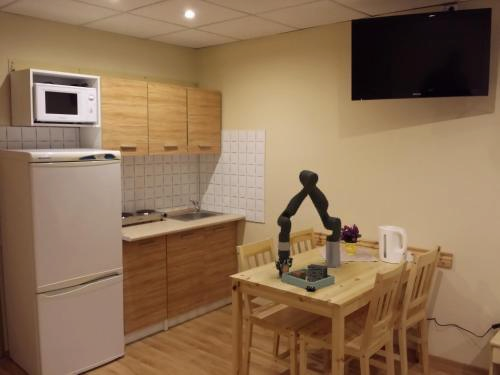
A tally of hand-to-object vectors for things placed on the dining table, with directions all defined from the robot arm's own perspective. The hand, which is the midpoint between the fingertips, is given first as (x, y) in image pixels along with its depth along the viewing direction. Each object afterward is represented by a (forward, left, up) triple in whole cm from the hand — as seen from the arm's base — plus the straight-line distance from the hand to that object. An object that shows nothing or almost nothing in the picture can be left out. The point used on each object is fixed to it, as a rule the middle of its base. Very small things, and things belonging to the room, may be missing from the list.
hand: (284, 275), depth 289 cm
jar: (0, 0, -1) cm, 1 cm away
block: (+1, +13, -1) cm, 13 cm away
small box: (-5, +22, -1) cm, 23 cm away
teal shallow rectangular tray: (-2, +18, -1) cm, 18 cm away
